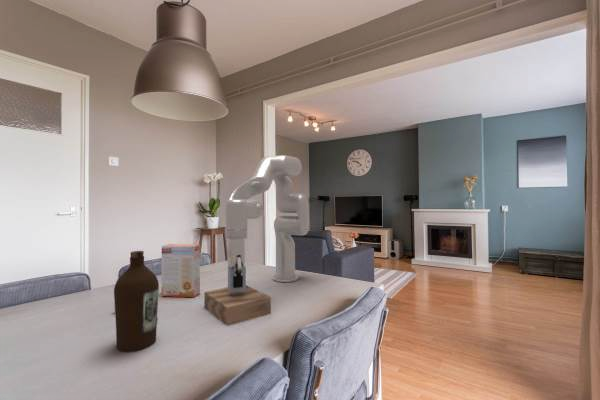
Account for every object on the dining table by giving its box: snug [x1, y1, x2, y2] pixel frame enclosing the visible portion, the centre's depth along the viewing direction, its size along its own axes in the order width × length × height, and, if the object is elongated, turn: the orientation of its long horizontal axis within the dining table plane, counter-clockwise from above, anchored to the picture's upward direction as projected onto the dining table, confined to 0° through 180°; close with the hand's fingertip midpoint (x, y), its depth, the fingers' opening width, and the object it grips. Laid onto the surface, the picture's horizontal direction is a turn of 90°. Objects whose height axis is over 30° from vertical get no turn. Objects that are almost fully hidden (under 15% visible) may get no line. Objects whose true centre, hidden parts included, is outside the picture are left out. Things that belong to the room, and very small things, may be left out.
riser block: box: [203, 284, 272, 326], centre depth 103 cm, size 20×16×6 cm
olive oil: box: [113, 250, 160, 353], centre depth 79 cm, size 11×11×25 cm
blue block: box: [227, 264, 247, 292], centre depth 103 cm, size 6×6×8 cm
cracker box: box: [161, 243, 201, 298], centre depth 120 cm, size 14×6×21 cm, turn 84°
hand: (236, 284), depth 103 cm, fingers closed on blue block, 5 cm apart
